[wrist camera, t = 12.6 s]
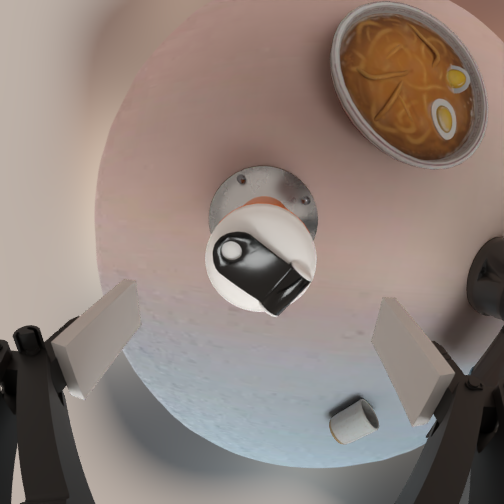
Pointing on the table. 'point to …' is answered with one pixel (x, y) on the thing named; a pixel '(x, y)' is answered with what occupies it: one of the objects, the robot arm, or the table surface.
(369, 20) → the bowl
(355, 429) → the ceramic mug
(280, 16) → the table surface
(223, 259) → the shaker bottle
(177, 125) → the table surface
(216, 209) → the flange
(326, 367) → the table surface
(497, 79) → the table surface
